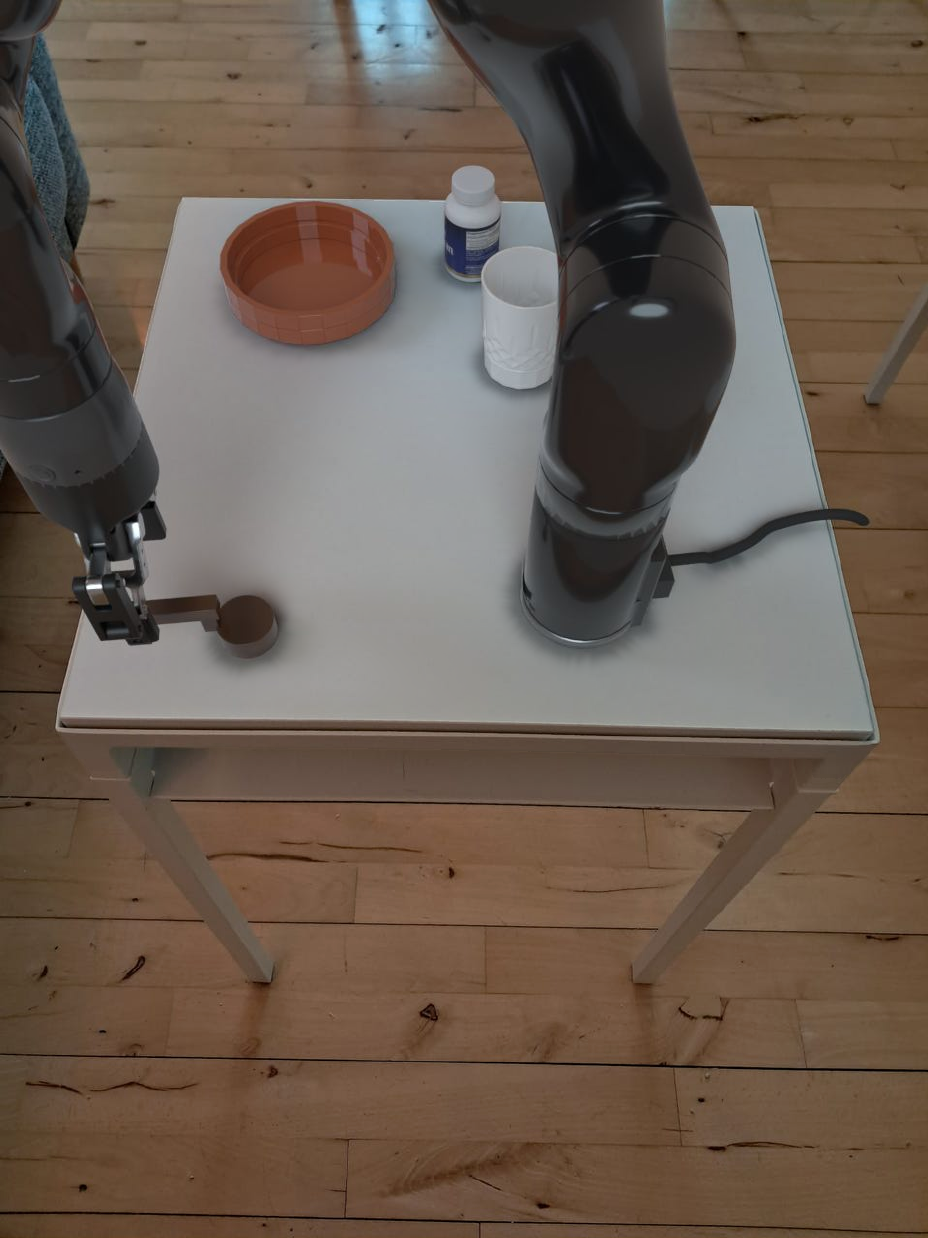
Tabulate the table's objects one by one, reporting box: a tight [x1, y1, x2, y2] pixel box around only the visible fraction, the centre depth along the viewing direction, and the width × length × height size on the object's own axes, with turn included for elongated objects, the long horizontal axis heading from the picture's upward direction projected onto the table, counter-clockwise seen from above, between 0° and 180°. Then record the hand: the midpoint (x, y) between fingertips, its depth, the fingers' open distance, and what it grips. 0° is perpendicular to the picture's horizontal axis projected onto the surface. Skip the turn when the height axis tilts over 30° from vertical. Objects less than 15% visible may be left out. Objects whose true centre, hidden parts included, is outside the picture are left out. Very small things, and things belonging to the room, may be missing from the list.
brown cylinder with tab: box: [146, 593, 279, 659], centre depth 70 cm, size 9×4×5 cm, turn 96°
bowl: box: [219, 200, 397, 346], centre depth 91 cm, size 16×16×4 cm
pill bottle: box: [443, 165, 502, 283], centre depth 91 cm, size 5×5×10 cm
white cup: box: [480, 245, 558, 390], centre depth 84 cm, size 8×8×10 cm
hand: (148, 585), depth 66 cm, fingers open, 8 cm apart
